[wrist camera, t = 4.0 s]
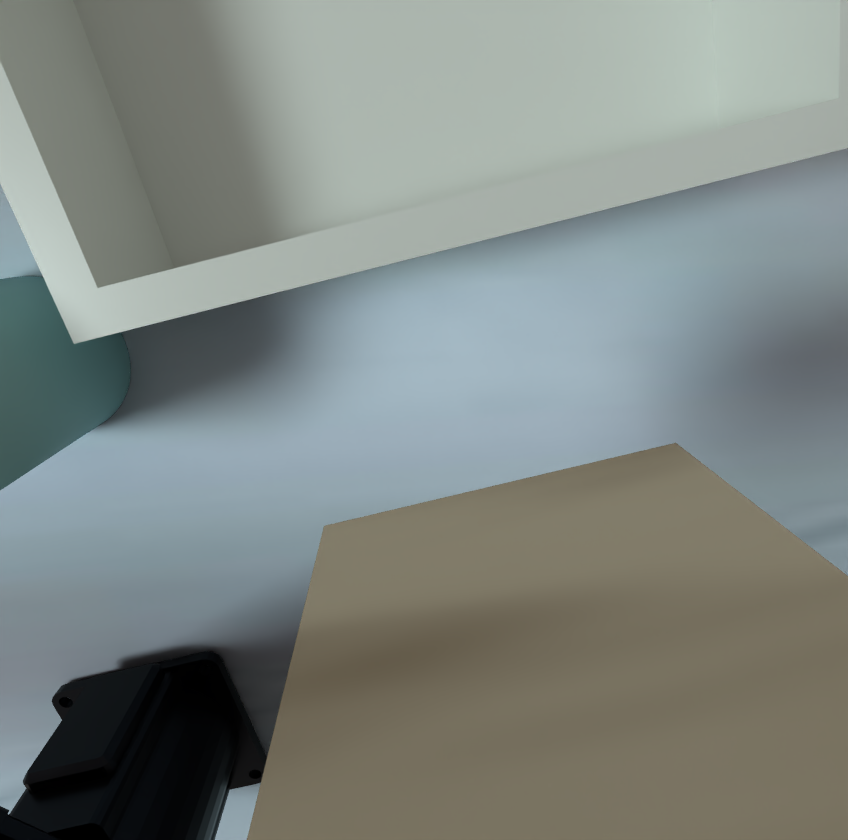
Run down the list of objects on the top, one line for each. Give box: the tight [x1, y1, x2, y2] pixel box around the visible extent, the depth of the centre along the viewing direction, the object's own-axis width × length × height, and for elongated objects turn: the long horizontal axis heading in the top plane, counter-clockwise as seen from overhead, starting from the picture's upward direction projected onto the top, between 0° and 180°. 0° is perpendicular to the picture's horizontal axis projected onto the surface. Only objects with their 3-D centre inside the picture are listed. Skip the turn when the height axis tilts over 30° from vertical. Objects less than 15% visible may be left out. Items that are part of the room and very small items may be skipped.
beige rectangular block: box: [247, 443, 848, 840], centre depth 6 cm, size 5×5×5 cm
